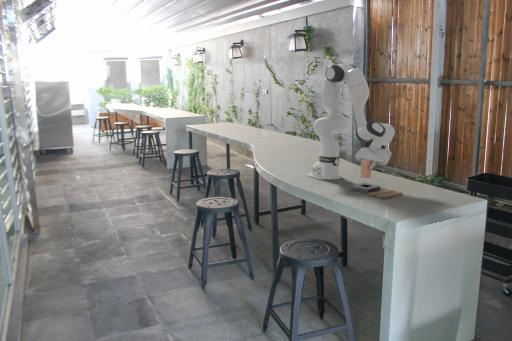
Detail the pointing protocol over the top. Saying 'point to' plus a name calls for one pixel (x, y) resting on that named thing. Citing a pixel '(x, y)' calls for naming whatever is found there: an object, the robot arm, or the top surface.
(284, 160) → the top surface
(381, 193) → the board
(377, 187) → the socket
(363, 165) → the peg
